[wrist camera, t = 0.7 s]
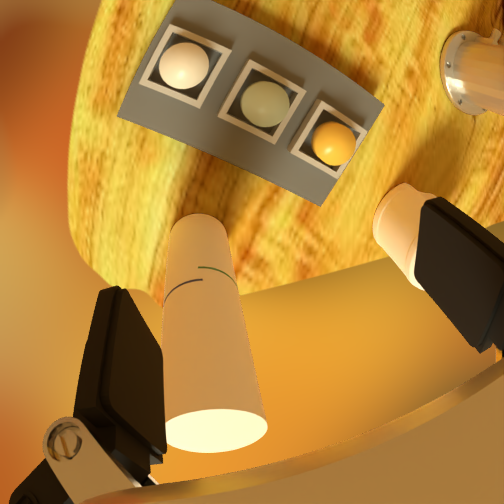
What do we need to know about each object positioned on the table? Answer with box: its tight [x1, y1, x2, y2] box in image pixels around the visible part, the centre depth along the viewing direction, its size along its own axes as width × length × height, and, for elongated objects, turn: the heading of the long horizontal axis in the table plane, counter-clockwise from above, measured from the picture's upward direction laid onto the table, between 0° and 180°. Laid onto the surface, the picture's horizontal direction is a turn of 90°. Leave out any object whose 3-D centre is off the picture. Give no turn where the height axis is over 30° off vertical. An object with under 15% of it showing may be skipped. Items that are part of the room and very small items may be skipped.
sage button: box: [240, 81, 289, 127], centre depth 27 cm, size 4×4×2 cm
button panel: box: [117, 0, 384, 207], centre depth 29 cm, size 14×24×4 cm, turn 61°
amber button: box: [311, 121, 356, 166], centre depth 30 cm, size 4×4×2 cm
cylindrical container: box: [161, 214, 267, 453], centre depth 29 cm, size 7×7×25 cm
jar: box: [373, 183, 436, 291], centre depth 37 cm, size 12×10×15 cm
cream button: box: [159, 43, 209, 89], centre depth 24 cm, size 4×4×2 cm
